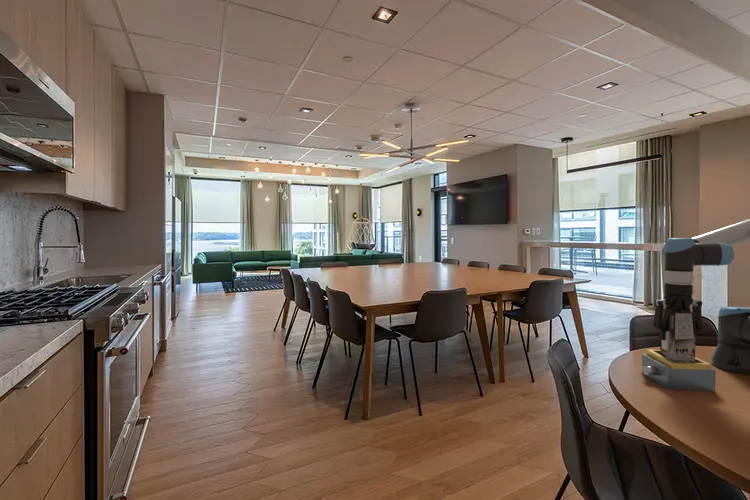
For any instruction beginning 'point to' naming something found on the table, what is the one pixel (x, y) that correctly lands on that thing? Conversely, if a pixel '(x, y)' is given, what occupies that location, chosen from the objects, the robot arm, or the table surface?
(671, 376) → the grey yellow box
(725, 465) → the table surface
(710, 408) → the table surface
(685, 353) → the coffee box
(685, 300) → the robot arm
